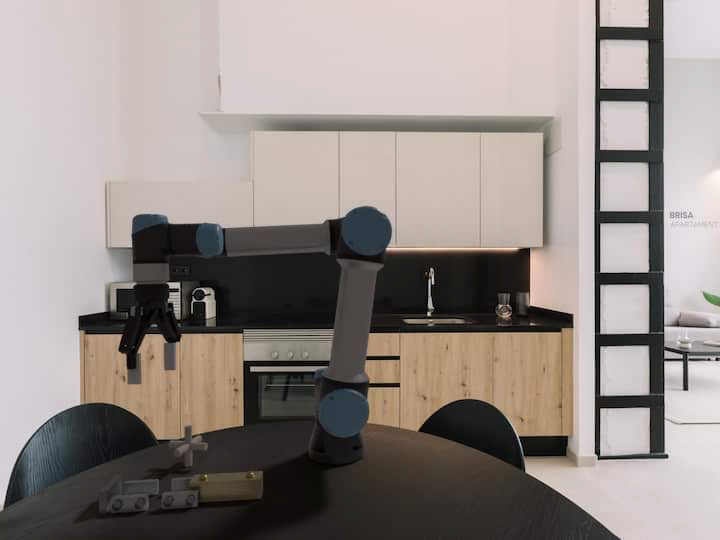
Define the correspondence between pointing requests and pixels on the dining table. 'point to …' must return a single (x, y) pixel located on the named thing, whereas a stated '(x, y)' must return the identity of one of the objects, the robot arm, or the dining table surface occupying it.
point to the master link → (228, 486)
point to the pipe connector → (188, 445)
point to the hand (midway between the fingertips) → (153, 376)
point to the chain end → (180, 495)
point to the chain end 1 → (127, 495)
